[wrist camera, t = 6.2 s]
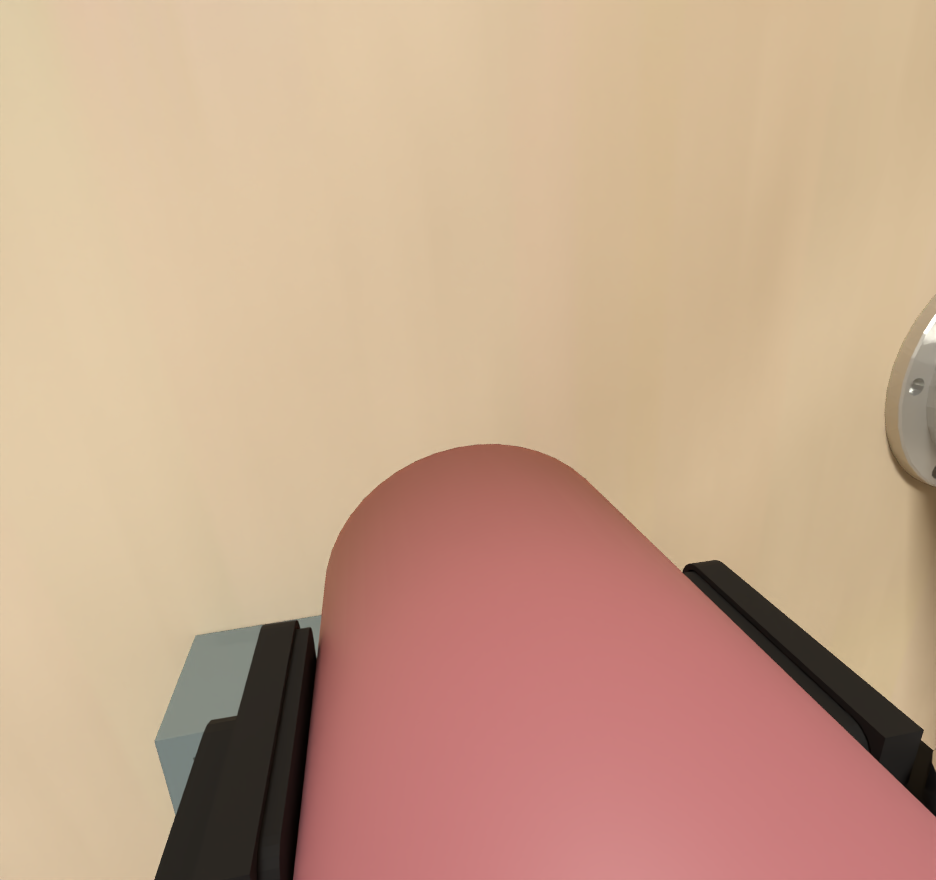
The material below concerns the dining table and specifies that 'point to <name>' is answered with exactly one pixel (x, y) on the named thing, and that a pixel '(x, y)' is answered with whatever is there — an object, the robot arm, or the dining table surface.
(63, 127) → the dining table surface
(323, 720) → the soup can
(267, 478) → the dining table surface
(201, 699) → the tote
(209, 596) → the dining table surface
